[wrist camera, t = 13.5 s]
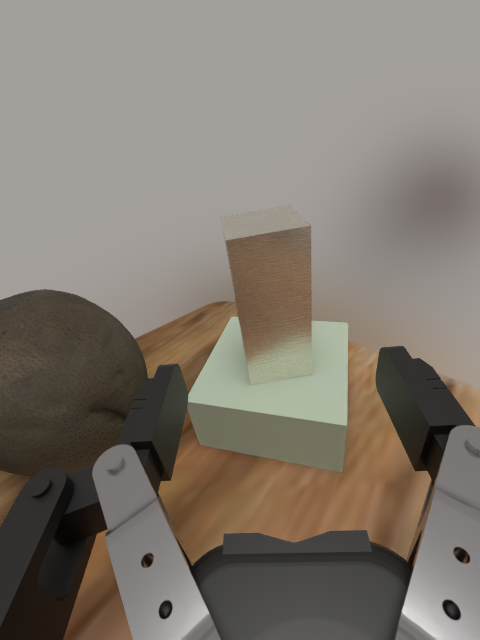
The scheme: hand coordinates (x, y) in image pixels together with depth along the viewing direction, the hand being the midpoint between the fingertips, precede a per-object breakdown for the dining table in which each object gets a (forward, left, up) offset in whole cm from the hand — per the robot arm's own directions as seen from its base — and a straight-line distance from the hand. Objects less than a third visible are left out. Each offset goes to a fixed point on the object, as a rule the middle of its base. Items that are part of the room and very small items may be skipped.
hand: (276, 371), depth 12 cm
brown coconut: (-18, +8, -15) cm, 25 cm away
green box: (0, +11, -15) cm, 19 cm away
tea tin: (0, +11, -9) cm, 14 cm away
